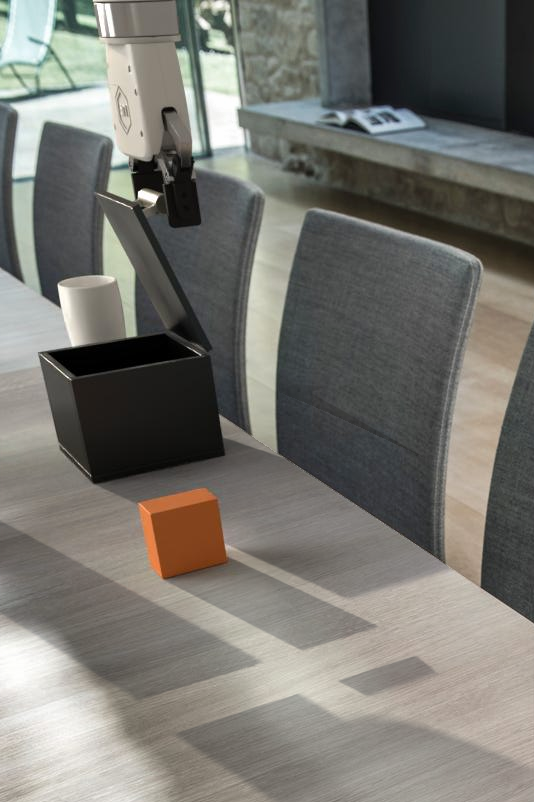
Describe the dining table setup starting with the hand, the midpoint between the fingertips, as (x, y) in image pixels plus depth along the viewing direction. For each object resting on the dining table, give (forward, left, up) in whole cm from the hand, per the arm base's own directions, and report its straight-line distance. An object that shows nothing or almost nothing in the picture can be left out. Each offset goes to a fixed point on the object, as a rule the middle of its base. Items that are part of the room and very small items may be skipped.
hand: (168, 219), depth 118 cm
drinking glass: (-5, +17, -23) cm, 29 cm away
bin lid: (-3, 0, -5) cm, 6 cm away
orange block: (-13, -31, -23) cm, 41 cm away
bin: (-7, 0, -23) cm, 24 cm away
